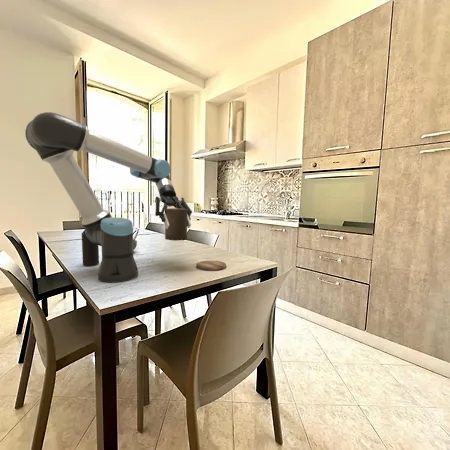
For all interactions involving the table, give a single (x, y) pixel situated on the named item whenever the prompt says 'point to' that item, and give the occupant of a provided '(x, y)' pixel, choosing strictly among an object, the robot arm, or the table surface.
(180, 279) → the table surface
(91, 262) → the bottle
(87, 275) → the table surface
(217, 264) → the trivet
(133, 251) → the mortar and pestle
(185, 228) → the pillar candle
